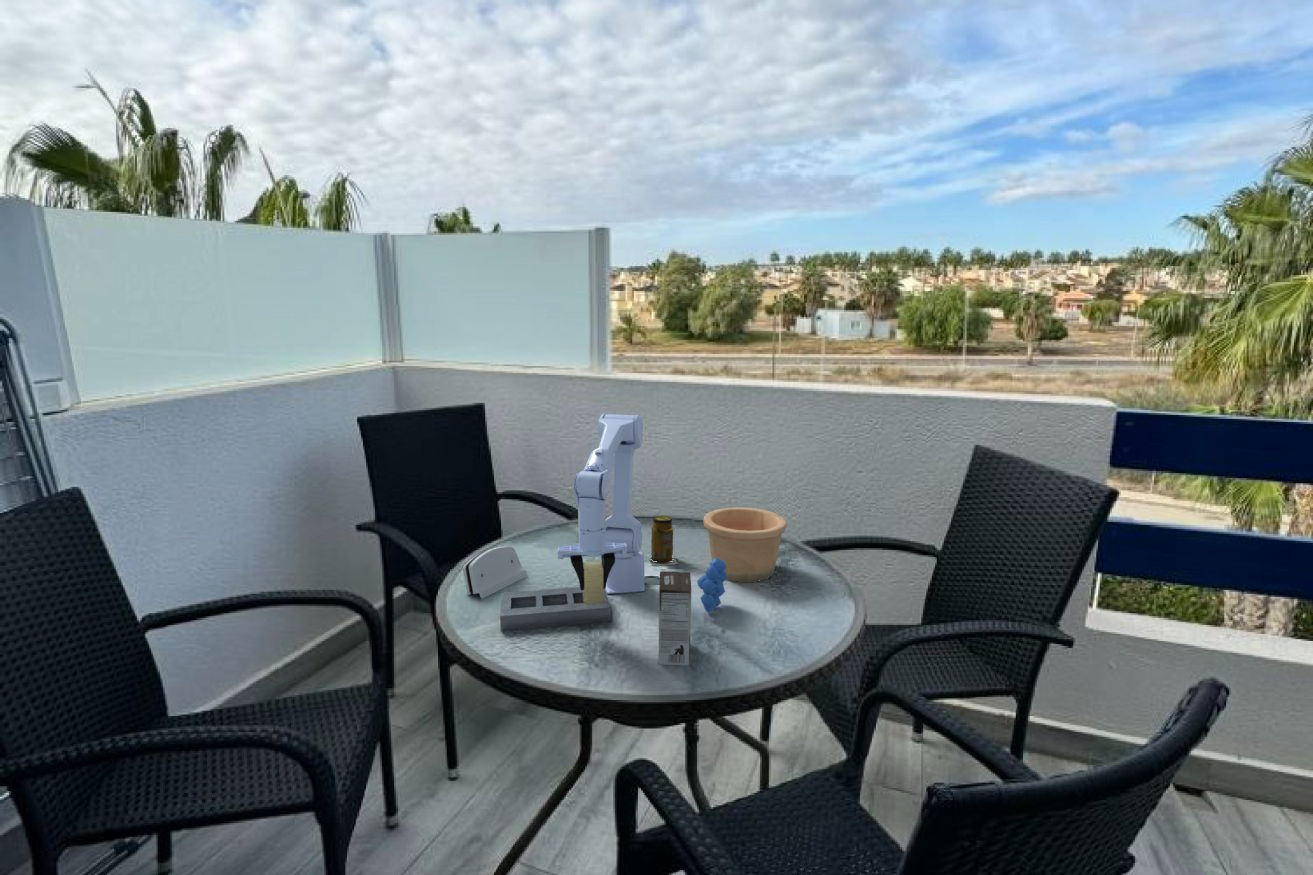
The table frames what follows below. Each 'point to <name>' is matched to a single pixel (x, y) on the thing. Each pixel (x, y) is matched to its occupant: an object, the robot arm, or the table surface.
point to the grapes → (713, 584)
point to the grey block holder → (550, 609)
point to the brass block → (593, 583)
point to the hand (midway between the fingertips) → (592, 587)
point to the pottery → (745, 541)
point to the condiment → (662, 541)
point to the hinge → (492, 571)
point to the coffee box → (674, 618)
